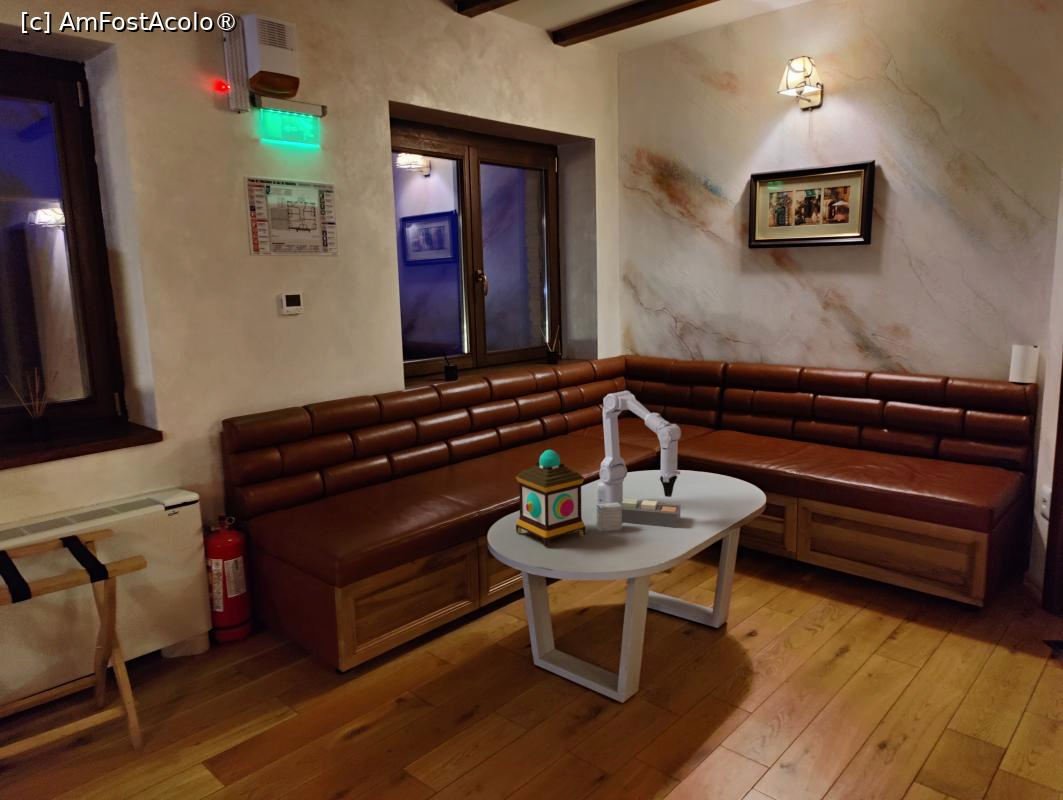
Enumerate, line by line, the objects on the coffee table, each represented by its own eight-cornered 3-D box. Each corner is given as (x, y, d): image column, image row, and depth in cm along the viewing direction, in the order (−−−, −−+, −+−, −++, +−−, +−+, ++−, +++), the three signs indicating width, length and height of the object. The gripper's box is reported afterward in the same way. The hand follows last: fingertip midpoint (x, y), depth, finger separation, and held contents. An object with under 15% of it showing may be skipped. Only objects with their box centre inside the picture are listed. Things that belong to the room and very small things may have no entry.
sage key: (621, 510, 264) (621, 502, 263) (624, 506, 268) (624, 498, 268) (635, 511, 262) (635, 503, 262) (637, 507, 267) (637, 499, 266)
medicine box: (617, 525, 259) (617, 502, 258) (622, 529, 255) (622, 506, 253) (596, 527, 258) (596, 503, 256) (600, 532, 253) (600, 508, 252)
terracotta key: (660, 518, 260) (660, 510, 259) (662, 513, 264) (662, 506, 264) (674, 519, 258) (675, 511, 258) (676, 515, 263) (676, 507, 262)
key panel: (617, 522, 262) (617, 508, 261) (622, 513, 272) (622, 500, 271) (676, 527, 256) (677, 513, 255) (680, 518, 265) (680, 504, 264)
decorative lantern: (510, 533, 254) (508, 449, 248) (555, 520, 265) (554, 439, 260) (545, 550, 238) (544, 461, 232) (591, 536, 249) (591, 450, 244)
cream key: (641, 512, 261) (641, 504, 261) (643, 507, 266) (643, 500, 266) (655, 513, 260) (655, 505, 259) (657, 508, 265) (657, 501, 264)
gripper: (677, 465, 250) (677, 503, 252) (683, 454, 263) (682, 490, 266) (657, 463, 252) (656, 501, 255) (663, 453, 266) (662, 489, 268)
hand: (668, 496), depth 260 cm, fingers closed
